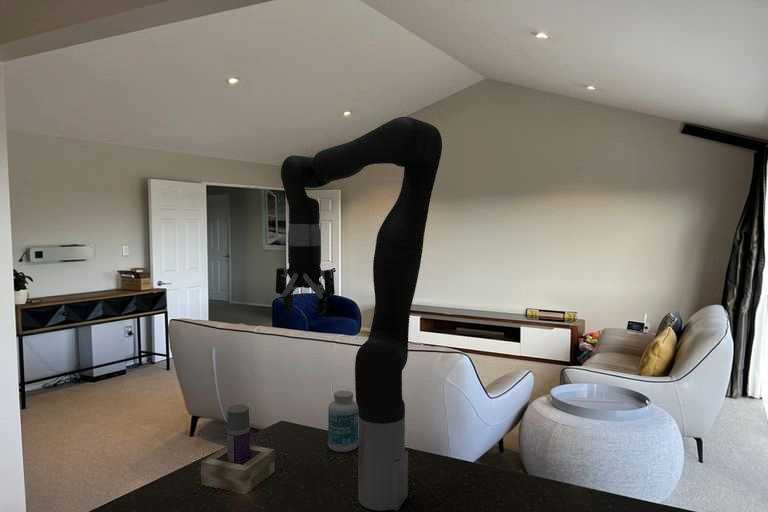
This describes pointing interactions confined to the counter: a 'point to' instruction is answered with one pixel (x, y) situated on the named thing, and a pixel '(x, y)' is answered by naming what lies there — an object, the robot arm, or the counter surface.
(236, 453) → the container
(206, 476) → the socket block
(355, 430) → the pill bottle
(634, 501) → the counter surface
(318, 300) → the robot arm
